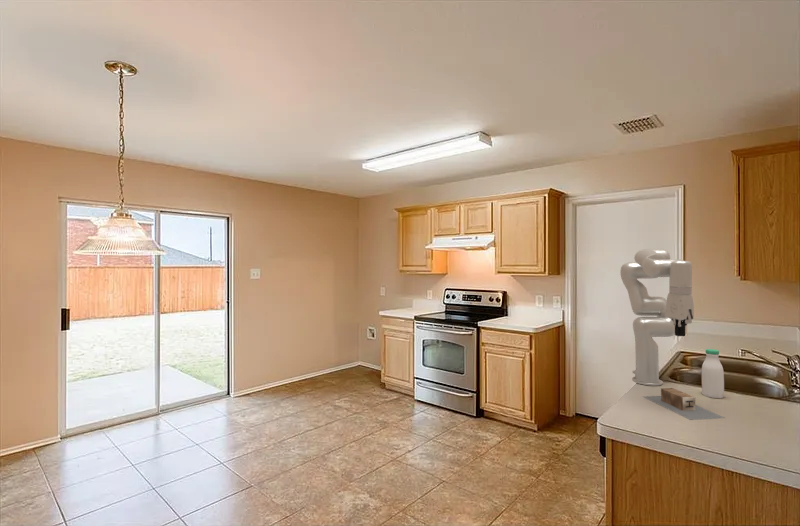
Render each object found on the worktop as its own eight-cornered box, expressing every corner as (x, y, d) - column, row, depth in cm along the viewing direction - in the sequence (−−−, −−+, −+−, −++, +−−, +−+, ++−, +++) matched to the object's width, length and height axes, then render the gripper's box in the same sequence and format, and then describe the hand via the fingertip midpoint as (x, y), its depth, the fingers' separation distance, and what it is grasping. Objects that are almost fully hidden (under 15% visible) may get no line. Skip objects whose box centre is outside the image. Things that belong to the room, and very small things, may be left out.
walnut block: (683, 410, 159) (661, 400, 171) (695, 410, 159) (672, 399, 171) (683, 397, 159) (661, 388, 171) (695, 397, 159) (672, 387, 171)
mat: (642, 397, 176) (642, 396, 176) (672, 396, 177) (672, 395, 177) (690, 420, 150) (690, 419, 150) (725, 419, 151) (725, 417, 151)
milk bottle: (728, 398, 173) (728, 351, 173) (710, 398, 173) (709, 351, 173) (715, 392, 180) (714, 347, 180) (697, 393, 180) (696, 347, 180)
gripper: (658, 289, 173) (658, 332, 174) (686, 293, 158) (685, 340, 159) (675, 288, 173) (674, 331, 174) (704, 293, 158) (703, 339, 159)
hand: (679, 335), depth 166 cm, fingers closed
